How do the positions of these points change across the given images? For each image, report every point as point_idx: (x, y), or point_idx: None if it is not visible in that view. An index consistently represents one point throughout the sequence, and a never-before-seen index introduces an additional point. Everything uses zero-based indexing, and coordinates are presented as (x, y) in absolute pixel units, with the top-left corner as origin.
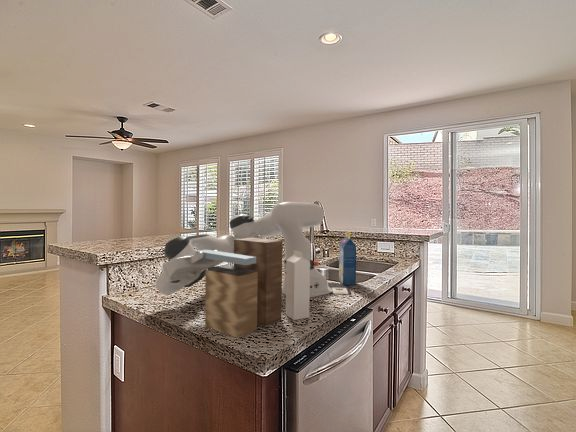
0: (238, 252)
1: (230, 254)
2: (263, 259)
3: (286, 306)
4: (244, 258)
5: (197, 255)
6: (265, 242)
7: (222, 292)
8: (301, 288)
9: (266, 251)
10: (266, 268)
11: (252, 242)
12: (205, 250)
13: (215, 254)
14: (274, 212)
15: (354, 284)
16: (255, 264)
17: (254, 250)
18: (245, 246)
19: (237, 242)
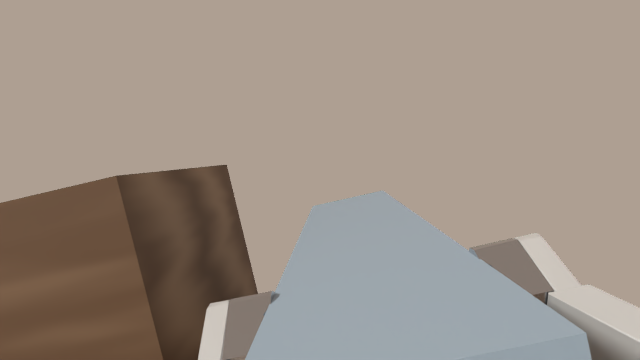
0: (174, 283)
1: (344, 219)
2: (241, 249)
3: None
4: (377, 193)
5: (584, 298)
6: (222, 165)
7: None
8: None
9: (236, 206)
10: (255, 284)
11: (200, 175)
12: (344, 335)
13: (424, 221)
14: None
15: None
16: (237, 297)
17: (216, 220)
18: (187, 212)
19: (146, 198)
